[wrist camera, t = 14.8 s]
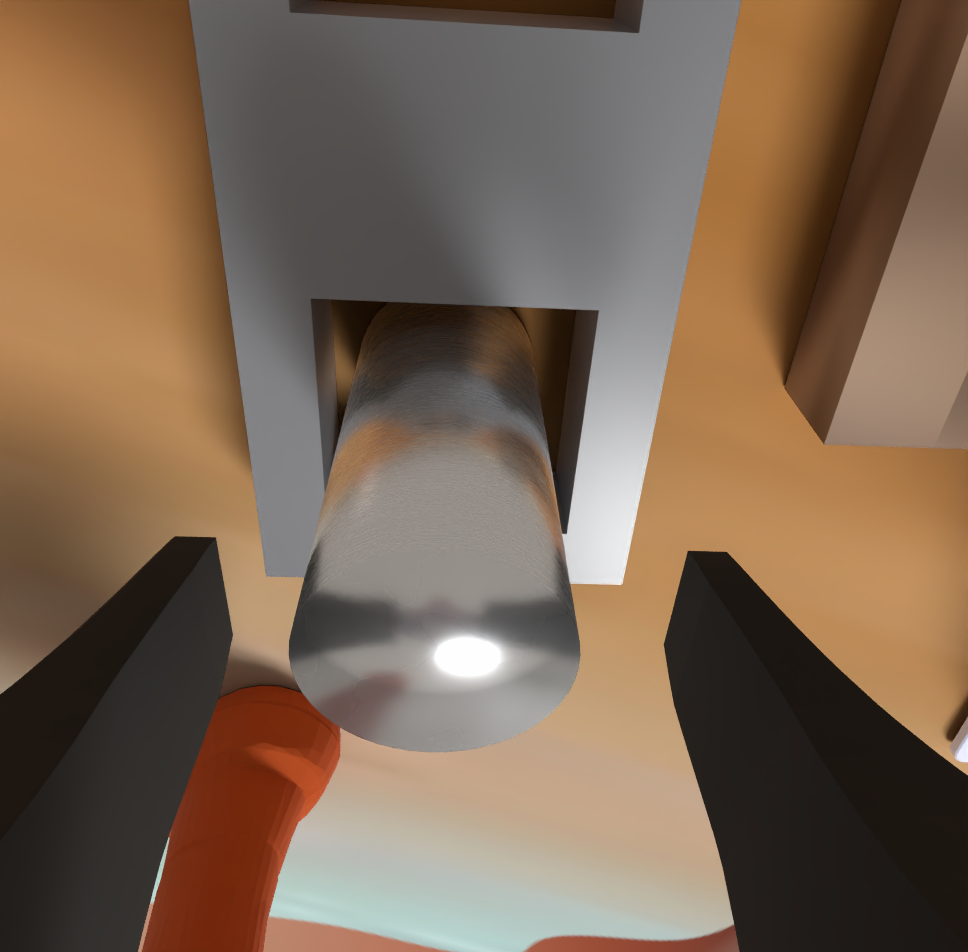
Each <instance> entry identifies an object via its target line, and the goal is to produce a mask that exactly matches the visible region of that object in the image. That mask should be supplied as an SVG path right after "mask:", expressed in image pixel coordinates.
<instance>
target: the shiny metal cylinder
mask: <svg viewBox="0 0 968 952" xmlns="http://www.w3.org/2000/svg"><path fill="white" fill-rule="evenodd" d="M289 659H290V665H291V669H292V672H293V675H294V678H295V681H296V682H297V684H298V686H299V688H300V690H301V691H302V693H303V694H304V696H305V697H306V698H307V699H308V701H309V702H310V703H311V704H312V705H313V706H314V707H315V708H316V709H317V710H318V711H319V712H320V713H321V714H322V715H323V716H325V717H326V718H327V719H329V720H330V721H331V722H332V723H334V724H335V725H337V726H339V727H341V728H342V729H344V730H346V731H347V732H349V733H352V734H354V735H356V736H358V737H360V738H362V739H365V740H368V741H371V742H374V743H377V744H380V745H384V746H388V747H392V748H397V749H403V750H409V751H419V752H453V751H464V750H470V749H476V748H481V747H484V746H488V745H492V744H496V743H499V742H501V741H504V740H507V739H510V738H512V737H514V736H516V735H518V734H520V733H523V732H525V731H526V730H528V729H530V728H531V727H533V726H535V725H536V724H538V723H539V722H540V721H542V720H543V719H544V718H546V717H547V716H548V715H549V714H550V713H551V712H552V711H553V710H554V709H555V708H556V707H557V706H558V705H559V704H560V703H561V702H562V700H563V699H564V698H565V696H566V695H567V694H568V692H569V690H570V688H571V687H572V685H573V683H574V681H575V678H576V675H577V672H578V669H579V662H580V641H579V635H578V629H577V623H576V617H575V610H574V604H573V598H572V592H571V586H570V580H569V573H568V567H567V561H566V555H565V549H564V542H563V536H562V530H561V524H560V518H559V512H558V505H557V499H556V493H555V487H554V481H553V475H552V468H551V462H550V456H549V450H548V444H547V437H546V431H545V425H544V419H543V413H542V407H541V400H540V394H539V388H538V382H537V376H536V370H535V363H534V357H533V351H532V347H531V342H530V339H529V337H528V334H527V332H526V330H525V328H524V326H523V324H522V323H521V321H520V320H519V318H518V317H517V316H516V314H515V313H514V312H513V311H512V310H511V309H510V308H509V307H505V306H480V305H456V304H432V303H407V302H388V303H387V304H386V305H385V306H384V307H383V308H382V309H380V310H379V312H378V313H377V314H376V315H375V317H374V318H373V319H372V321H371V323H370V324H369V326H368V328H367V330H366V332H365V335H364V338H363V341H362V345H361V349H360V353H359V357H358V361H357V365H356V369H355V374H354V378H353V382H352V386H351V390H350V394H349V398H348V402H347V406H346V410H345V414H344V418H343V423H342V427H341V431H340V435H339V439H338V443H337V447H336V451H335V455H334V459H333V463H332V467H331V471H330V476H329V480H328V484H327V488H326V492H325V496H324V500H323V504H322V508H321V512H320V516H319V520H318V525H317V529H316V533H315V537H314V541H313V545H312V549H311V553H310V557H309V561H308V565H307V569H306V574H305V578H304V582H303V586H302V590H301V594H300V598H299V602H298V606H297V610H296V614H295V618H294V622H293V627H292V631H291V635H290V640H289Z"/></svg>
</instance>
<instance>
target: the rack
mask: <svg viewBox="0 0 968 952" xmlns="http://www.w3.org/2000/svg"><path fill="white" fill-rule="evenodd" d="M740 4H741V0H616V3H615V11H614V18H600V17H583V16H567V15H550V14H533V13H517V12H500V11H483V10H467V9H450V8H434V7H417V6H400V5H384V4H367V3H350V2H334V1H317V0H189V6H190V13H191V21H192V28H193V35H194V43H195V50H196V58H197V65H198V73H199V80H200V87H201V95H202V102H203V110H204V117H205V125H206V132H207V140H208V147H209V154H210V162H211V169H212V177H213V184H214V192H215V199H216V207H217V214H218V221H219V229H220V236H221V244H222V251H223V259H224V266H225V273H226V281H227V288H228V296H229V303H230V311H231V318H232V326H233V333H234V340H235V348H236V355H237V363H238V370H239V378H240V385H241V393H242V400H243V407H244V415H245V422H246V430H247V437H248V445H249V452H250V459H251V467H252V474H253V482H254V489H255V497H256V504H257V512H258V519H259V526H260V534H261V541H262V549H263V556H264V564H265V571H266V576H270V577H305V574H306V569H307V565H308V561H309V557H310V553H311V549H312V545H313V541H314V537H315V533H316V529H317V525H318V520H319V516H320V512H321V508H322V504H323V500H324V496H325V492H326V488H327V484H328V480H329V476H330V471H331V467H332V463H333V459H334V455H335V451H336V447H337V443H338V439H339V422H338V405H337V387H336V370H335V353H334V335H333V318H332V301H331V299H334V300H358V301H383V302H407V303H432V304H456V305H480V306H505V307H529V308H554V309H577V310H576V318H575V326H574V333H573V341H572V349H571V357H570V365H569V373H568V381H567V389H566V396H565V404H564V412H563V420H562V428H561V436H560V444H559V452H558V459H557V467H556V472H552V475H553V481H554V487H555V493H556V499H557V505H558V512H559V518H560V524H561V530H562V536H563V542H564V549H565V555H566V561H567V567H568V573H569V580H570V583H573V584H616V585H622V583H623V578H624V573H625V568H626V563H627V558H628V554H629V549H630V544H631V539H632V534H633V529H634V524H635V519H636V514H637V509H638V504H639V500H640V495H641V490H642V485H643V480H644V475H645V470H646V465H647V460H648V455H649V450H650V446H651V441H652V436H653V431H654V426H655V421H656V416H657V411H658V406H659V401H660V397H661V392H662V387H663V382H664V377H665V372H666V367H667V362H668V357H669V352H670V347H671V343H672V338H673V333H674V328H675V323H676V318H677V313H678V308H679V303H680V298H681V293H682V289H683V284H684V279H685V274H686V269H687V264H688V259H689V254H690V249H691V244H692V239H693V235H694V230H695V225H696V220H697V215H698V210H699V205H700V200H701V195H702V190H703V185H704V181H705V176H706V171H707V166H708V161H709V156H710V151H711V146H712V141H713V136H714V131H715V127H716V122H717V117H718V112H719V107H720V102H721V97H722V92H723V87H724V82H725V78H726V73H727V68H728V63H729V58H730V53H731V48H732V43H733V38H734V33H735V28H736V24H737V19H738V14H739V9H740Z"/></svg>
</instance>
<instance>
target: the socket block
mask: <svg viewBox="0 0 968 952" xmlns="http://www.w3.org/2000/svg"><path fill="white" fill-rule="evenodd" d="M785 390H786V391H787V393H788V394H789V396H790V397H791V398H792V400H793V401H794V403H795V404H796V405H797V407H798V408H799V410H800V411H801V413H802V414H803V415H804V417H805V418H806V420H807V421H808V422H809V424H810V425H811V427H812V428H813V430H814V431H815V432H816V434H817V435H818V437H819V438H820V439H821V441H822V442H823V444H825V445H855V446H886V447H917V448H947V449H968V0H902V1H901V4H900V7H899V11H898V14H897V17H896V20H895V24H894V27H893V30H892V34H891V37H890V40H889V44H888V47H887V50H886V54H885V57H884V60H883V64H882V67H881V70H880V73H879V77H878V80H877V83H876V87H875V90H874V93H873V97H872V100H871V103H870V107H869V110H868V113H867V117H866V120H865V123H864V126H863V130H862V133H861V136H860V140H859V143H858V146H857V150H856V153H855V156H854V160H853V163H852V166H851V170H850V173H849V176H848V179H847V183H846V186H845V189H844V193H843V196H842V199H841V203H840V206H839V209H838V213H837V216H836V219H835V223H834V226H833V229H832V232H831V236H830V239H829V242H828V246H827V249H826V252H825V256H824V259H823V262H822V266H821V269H820V272H819V276H818V279H817V282H816V285H815V289H814V292H813V295H812V299H811V302H810V305H809V309H808V312H807V315H806V319H805V322H804V325H803V328H802V332H801V335H800V338H799V342H798V345H797V348H796V352H795V355H794V358H793V362H792V365H791V368H790V372H789V375H788V378H787V381H786V385H785Z"/></svg>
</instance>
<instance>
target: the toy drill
mask: <svg viewBox="0 0 968 952" xmlns="http://www.w3.org/2000/svg"><path fill="white" fill-rule="evenodd" d="M339 757H340V728H339V726H337V725H335V724H334V723H332V722H331V721H330V720H329V719H327V718H326V717H325V716H323V715H322V714H321V713H320V712H319V711H318V710H317V709H316V708H315V707H314V706H313V705H312V704H311V703H310V702H309V701H308V699H307V698H306V697H305V696H304V694H302V693H300V692H297V691H294V690H291V689H286V688H282V687H278V686H256V687H250V688H243V689H240V690H237V691H235V692H233V693H230V694H228V695H225V696H223V697H221V698H220V699H218V701H217V704H216V707H215V710H214V712H213V715H212V718H211V721H210V724H209V726H208V729H207V732H206V735H205V738H204V740H203V743H202V746H201V749H200V751H199V754H198V757H197V760H196V762H195V765H194V768H193V771H192V773H191V776H190V779H189V782H188V784H187V787H186V790H185V792H184V795H183V798H182V801H181V803H180V806H179V809H178V812H177V814H176V817H175V820H174V823H173V825H172V828H171V831H170V834H169V837H170V840H169V845H168V850H167V855H166V859H165V864H164V868H163V873H162V877H161V881H160V884H159V887H158V890H157V893H156V897H155V901H154V905H153V909H152V913H151V917H150V921H149V925H148V929H147V934H146V937H145V941H144V946H143V950H142V952H263V948H264V940H265V933H266V926H267V919H268V916H269V912H270V908H271V905H272V901H273V897H274V893H275V890H276V886H277V882H278V875H279V873H280V870H281V867H282V865H283V862H284V859H285V856H286V853H287V850H288V847H289V844H290V841H291V838H292V836H293V833H294V831H295V829H296V826H297V824H298V822H299V821H300V820H302V819H303V818H304V817H305V816H306V815H307V814H308V813H309V812H310V810H311V809H312V808H313V807H314V806H315V804H316V803H317V802H318V800H319V799H320V797H321V796H322V794H323V792H324V790H325V788H326V786H327V784H328V782H329V780H330V778H331V776H332V774H333V772H334V770H335V768H336V766H337V763H338V760H339Z"/></svg>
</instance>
